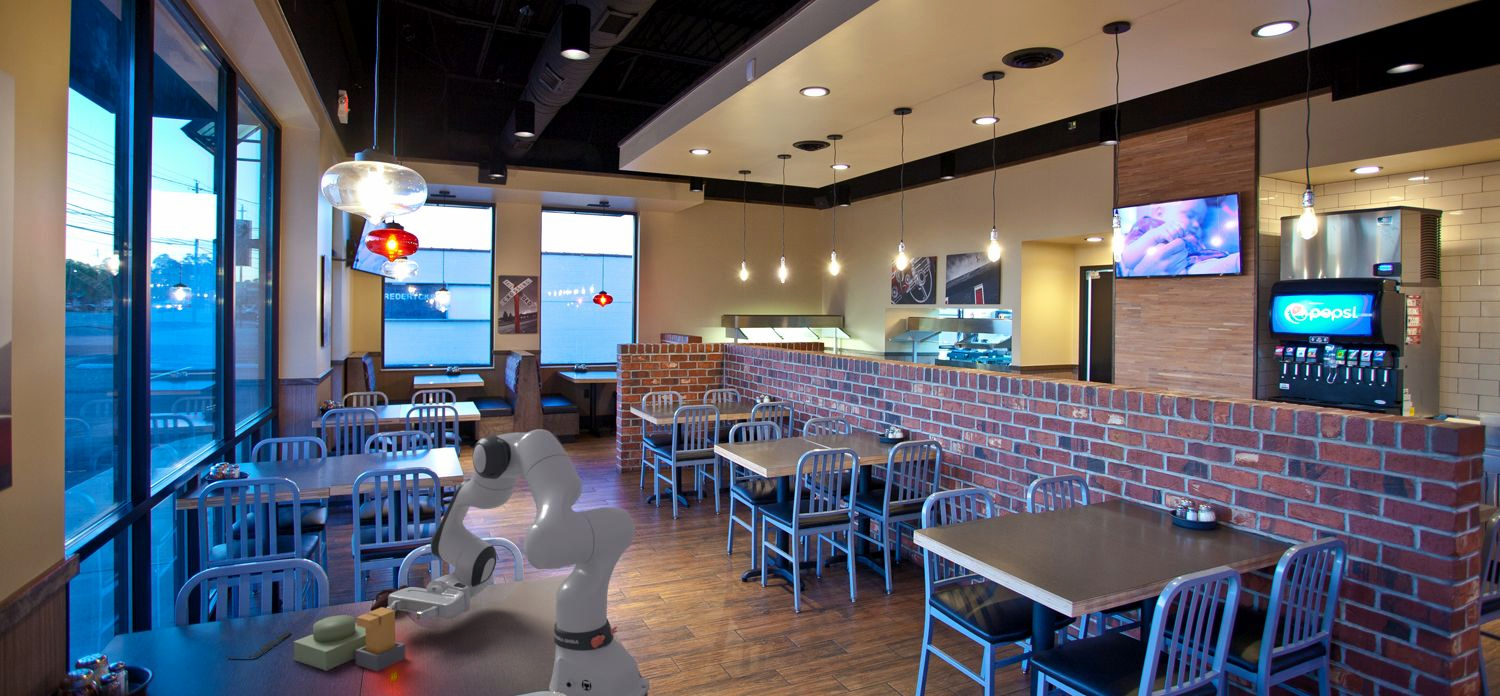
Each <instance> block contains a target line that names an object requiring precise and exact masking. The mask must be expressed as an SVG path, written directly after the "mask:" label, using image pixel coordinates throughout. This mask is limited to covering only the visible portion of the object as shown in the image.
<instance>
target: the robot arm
mask: <svg viewBox="0 0 1500 696" xmlns="http://www.w3.org/2000/svg"><path fill="white" fill-rule="evenodd" d="M472 464H473V472H472V476H471V478H468V479H465V480H463V482H461V483H460V484H459V486H458V487H457V489H456V490H455V492H454V493H453V496H452V498H451V499H450V502H449V504H448V506H447V508H446V510H445V512H444V515H443V518H442V520H441V522H440V524H439V525H438V527H437V528H436V530H435V532H434V533H433V534H432V537H431V540H430V550H431V553H432V555H433V556H434V557H436V558H438V559H440V560H442V561H445V562H446V563H448V564H449V565H451V566H452V567H454V568H455V569H454V571H453V572H451V573H447V574H444V575H442V576H440V577H438V578H436V579H433V580H431V581H430V582H429V583H428V584H427V585H426V588H423V587H417V586H410V587H409V586H408V588H404V589H401V590H399V591H396V592H393V593H391V594H390V595H389V597H388V607H387V609H391V610H395V614H396V613H397V611H403V612H406V613H407V612H409V613H412V614H413V613H415V614H416V619H417V620H420V621H423V620H426V619H429V618H434V617H438V618H443V619H452V618H455V617H457V616H459V615H462V614H463V613H467V612H468V611H470V609H471V599H473V598H475V597H476V596H478V595H479V594H480V593H482V592H483V591H485V589H486V588H487V587H488V586H489V585H490V584H491V582H492V579H493V572H494V571H495V568H496V565H497V551H496V549H495V547H494V546H493V545H492V544H490V543H489V542H488V541H486V540H484V539H482V538H481V537H479V536H477V534H475V533H472V532H471V531H470V530H468V529H467V528H466V527H465V526H464V520H465V517H466V516H467V513H468V511H469V509H470V508H476V509H481V510H490V509H492V510H493V509H496V508H499V507H501V506H503V505H504V504H506V503H507V502H508V501H510V498H511V497H512V495H513V494H514V490H515V487H516V484H517V479H518V478H524V479H525V482H526V483H527V486H528V488H529V490H530V494H531V495H532V497H533V500H534V503H535V507H536V516H535V519H534V521H533V523H532V524H531V525H530V526H529V528H527V530H526V533H525V535H524V538H523V546H522V547H523V553H524V556H525V558H526V559H527V561H528V563H529V564H530V565H531V566H532V567H533V568H535V569H537V570H557V569H558V570H559V569H562V568H567V567H571V566H574V568H573V570H572V571H571V573H570V574H569V575H568V576H567V577H566V578H565V579H564V580H562V581H561V583H560V584H559V586H558V588H557V590H556V593H555V602H556V603H555V619H556V621H555V623H554V627H553V628H554V631H553V640H554V643H555V650H554V651H555V652H554V653H555V654H554V662H553V663H554V664H553V670H552V674H551V675H552V676H551V679H550V682H549V686H548V690H549V692H550V691H555V692H560V693H564V694H566V695H567V696H645V695H646V694H647V693H648V691H649V690H650V681H649V680H648V679H646V678H643V677H641V676H640V673H639V665H638V664H637V661H636V659H635V658H634V656H632V655H631V654H630V653H629V651H627V650H626V649H625V648H623V646H622V645H621V644H620V643H619V642H618V641H617V640H616V639H615V637H614V636H615V635H614V634H616V632H618V630H617V628H618V626H615V627H613V628H612V626H611V624H610V621H609V619H608V617H607V616H608V591H609V585H610V581H611V577H612V575H613V572H614V569H615V567H616V566H617V564H618V561H619V560H620V558H621V556H622V555H623V554H624V553H625V552H626V551H627V550H628V548H630V546H631V545H632V543H633V541H634V537H635V533H636V532H635V530H636V528H635V522H634V520H633V518H632V516H631V515H630V513H629V512H628V511H627V510H626V509H624V508H623V507H598V508H595V509H594V508H593V509H589V510H583V511H575V510H574V509H573V508H572V507H573V506H574V505H575V503H577V501H578V500H579V499H580V497H581V496H582V492H583V483H582V480H581V478H580V476H579V474H578V472H577V470H576V468H575V466H574V464H573V462H572V460H571V459H570V456H569V455H568V453H567V451H566V449H564V447H563V445H562V442H561V440H560V439H559V437H558V436H557V435H556V434H555V433H553V432H551V431H549V430H547V429H541V428H538V429H533V430H530V431H528V432H517V431H516V432H510V433H509V432H508V433H503V434H497V435H495V434H492V435H488V436H485V437H482V438H480V439H478V441H477V442H476V443H475V445H474V447H473V451H472ZM640 677H641V678H640ZM643 681H644V682H645V683H644V682H643ZM645 685H646V686H645Z"/></svg>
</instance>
